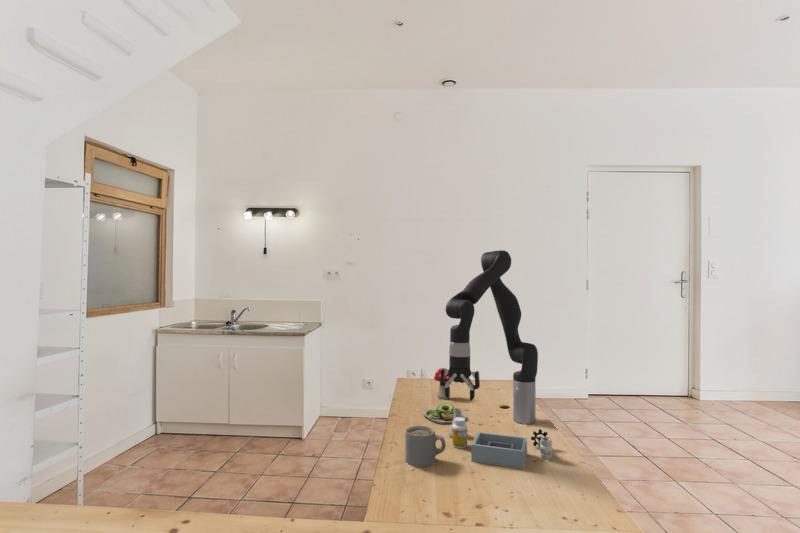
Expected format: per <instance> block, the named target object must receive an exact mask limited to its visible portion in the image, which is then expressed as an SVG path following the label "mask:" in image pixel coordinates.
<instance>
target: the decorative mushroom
mask: <svg viewBox="0 0 800 533" xmlns="http://www.w3.org/2000/svg"><path fill="white" fill-rule="evenodd" d="M443 368H444V367H442V368H438V370H436V372H435V373H434V377H433V380H434V381H437V382H440V375H441V370H442V369H443ZM444 369H447V368H444ZM447 370H449V368H448V369H447ZM450 378H451V377H450V375H449V374H448V373H447V375H445V382H446V383H447V382H448V381H449V379H450ZM436 396H437V398H438V399H439V398H440V399H439V400H444V399H447V400H449V399H450V398H447V396H445V387H444V386H441V385H440V384H439V385H438V391H437V394H436Z"/></svg>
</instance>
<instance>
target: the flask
mask: <svg viewBox="0 0 800 533" xmlns="http://www.w3.org/2000/svg"><path fill="white" fill-rule="evenodd" d="M453 410H454V419H455V418H457V417H461V413H462V412H463V410H462V408H457V409H455V408H454V409H453ZM454 419H453V422H452V424H450V428H449V431H448V436H449V438H452V426H453V425H454V424H455V423H454Z"/></svg>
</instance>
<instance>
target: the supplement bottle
mask: <svg viewBox="0 0 800 533" xmlns="http://www.w3.org/2000/svg"><path fill="white" fill-rule="evenodd" d="M454 423H455V424H454V425H453V426H452V437H451V438H452V439H451V441H452V443H451V444H452V447H454V448H456V449H465V448H467V446H468V426H467V425H466V418H461V417H457V418H455V419H454Z"/></svg>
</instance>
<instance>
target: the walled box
mask: <svg viewBox="0 0 800 533" xmlns="http://www.w3.org/2000/svg"><path fill="white" fill-rule="evenodd" d="M470 445H471V452H470V453H471V456H470V457H471V458H470V460H471V462H474V463H479V464H487V465H488V464H489V465H495V466H501V467H508V468H516V469H522V470H524V469H525V466H526V461H527V455H528V437H524V436H515V435H508V434H507V435H506V434H499V433H491V432H482V431H477V433H476V435H475V437H474V439H473V440H472V443H471V444H470Z"/></svg>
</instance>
